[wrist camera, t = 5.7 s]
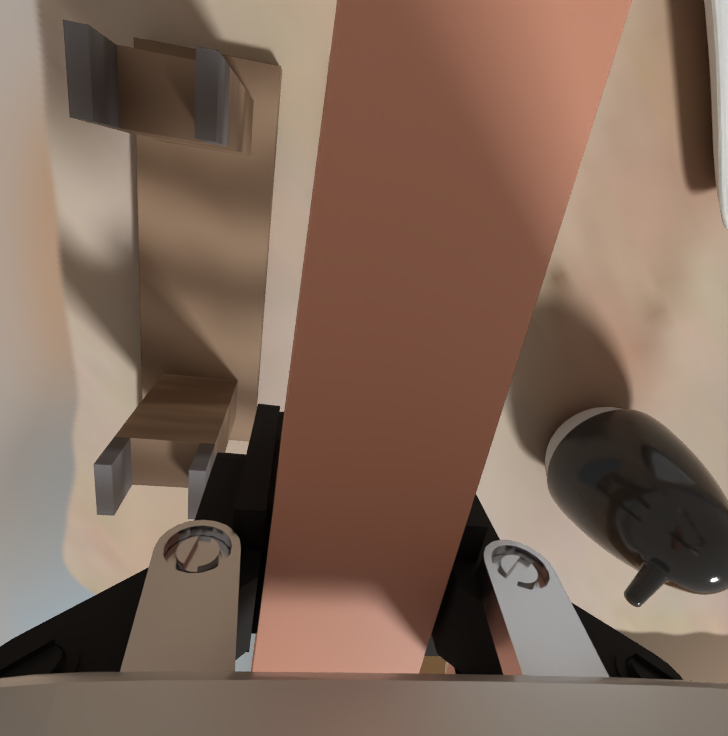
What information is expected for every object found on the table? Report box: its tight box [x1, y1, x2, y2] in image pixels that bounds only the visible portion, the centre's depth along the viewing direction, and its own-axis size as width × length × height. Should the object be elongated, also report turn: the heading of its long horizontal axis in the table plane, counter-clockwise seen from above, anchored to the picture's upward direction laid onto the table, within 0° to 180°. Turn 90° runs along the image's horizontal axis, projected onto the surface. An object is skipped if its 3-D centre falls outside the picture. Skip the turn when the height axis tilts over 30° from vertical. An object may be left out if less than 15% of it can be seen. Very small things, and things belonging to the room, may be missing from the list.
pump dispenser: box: [545, 407, 728, 607], centre depth 34 cm, size 10×10×15 cm
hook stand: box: [63, 20, 282, 519], centre depth 26 cm, size 25×8×13 cm, turn 172°
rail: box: [251, 0, 632, 674], centre depth 9 cm, size 24×3×3 cm, turn 170°
